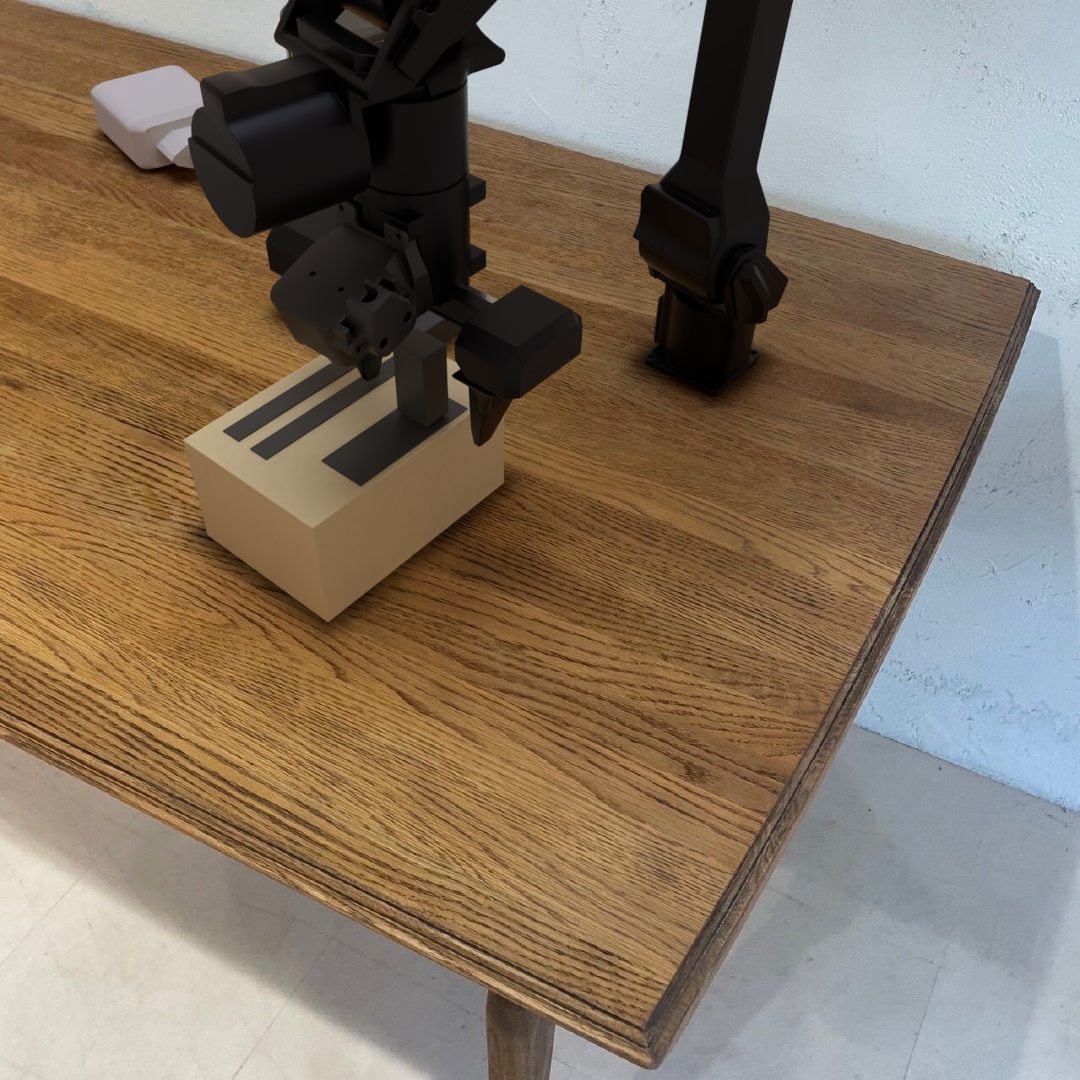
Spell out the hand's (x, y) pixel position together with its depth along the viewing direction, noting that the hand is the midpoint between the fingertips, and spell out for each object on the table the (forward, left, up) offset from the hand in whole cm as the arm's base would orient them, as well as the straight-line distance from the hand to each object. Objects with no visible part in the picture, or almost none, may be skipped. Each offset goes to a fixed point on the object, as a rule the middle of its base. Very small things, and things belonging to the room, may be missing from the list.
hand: (425, 409), depth 68 cm
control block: (+18, -13, -8) cm, 23 cm away
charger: (+50, -19, -9) cm, 54 cm away
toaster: (+4, +3, -8) cm, 10 cm away
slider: (0, 0, 0) cm, 0 cm away
